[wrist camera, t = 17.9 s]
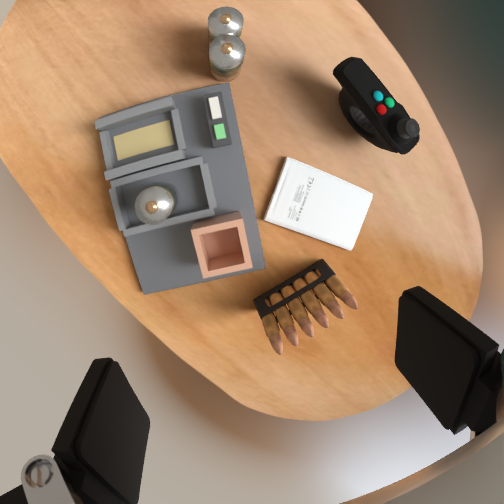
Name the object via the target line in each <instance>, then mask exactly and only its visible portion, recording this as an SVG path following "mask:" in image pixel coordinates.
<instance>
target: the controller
mask: <svg viewBox="0 0 504 504" xmlns="http://www.w3.org/2000/svg"><path fill="white" fill-rule="evenodd" d="M333 75H334V76H335V78H336V79H337V80H338V82H339V83H340V85H341V86H342V90H341V91H340V93H339V103H340V106H341V109H342V111H343V113H344V115H345V117H346V118H347V120H348V121H349V123H350V124H351V125H352V127H353V128H354V129H355V130H356V131H357V132H358V133H359V134H360V135H361V136H362V137H363V138H365V139H366V140H367V141H369V142H370V143H372V144H373V145H375V146H377V147H379V148H381V149H385V150H388V151H391V152H394V153H398V152H399V153H400V154H406V153H408V152H410V151H411V150H412V148H413V147H414V146H415V145H416V144H417V143H418V141H419V131H420V128H419V124H418V123H417V121H416V120H414V119H412V118H410V117H409V115H408V114H407V112H406V110H405V109H404V107H403V106H402V105H401V104H399V103H398V102H397V101H396V100H395V99H394V98H393V96H392V95H391V94H390V92H389V91H388V90H387V89H386V87H385V86H384V85H383V83H382V82H381V81H380V80H379V79H378V77H377V76H376V75H375V74H374V73H373V71H372V70H371V69H370V68H369V67H368V66H367V64H366V63H365V62H364V61H363V60H362V59H360V58H355V57H350V58H347V59H346V60H344V61H342V62H341V63H340V64H338V65H337V66H336V67H335V68H334V70H333Z"/></svg>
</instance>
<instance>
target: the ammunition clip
mask: <svg viewBox="0 0 504 504" xmlns="http://www.w3.org/2000/svg"><path fill="white" fill-rule="evenodd" d="M323 282H324V283H325V284H326V285H325V284H324V283H323ZM311 289H312V290H311ZM312 291H313V292H314V293H315V295H314V293H313V292H312ZM331 291H332V292H333V293H334V294H335V296H337V297H338V298H340V299H341V300H342V301H343V302H344V303H345V304H346V305H347V306H349V307H350V308H352V309H358V304H357V301H356V299H355V298H354V297H353V295H352V294H351V293H350V291H349V290H348V288H347V286H346V285H345V284H344V283H343V282H342V281H341V280H340V279H339V278H338V277H337V276H336V274H335V273H334V272H333V270H332V269H331V268H330V267H329V266H328V264H327V263H326V262H325V261H324V260H323V259H321V260H319V261H318V262H316V263H315V264H313V265H311V266H310V267H308V268H306V269H305V270H303V271H301V272H300V273H298V274H296V275H295V276H293V277H291V278H290V279H288V280H286V281H285V282H283V283H281V284H280V285H278V286H276V287H275V288H273V289H271V290H269V291H268V292H266V293H264V294H263V295H261V296H259V297H257V298H256V299H254V303H255V305H256V308H257V311H258V313H259V316H260V318H261V319H262V323H263V326H264V329H265V332H266V335H267V336H268V338H269V340H270V342H271V345H272V347H273V349H274V350H275V351H276V353H278V354H279V355H281V354H282V351H283V344H282V340H281V336H280V329H279V326H278V322H279V325H280V327H281V328H282V329H283V331H284V333H285V335H286V337H287V339H288V340H289V342H290V343H291V344H292V345H294V346H297V345H298V336H297V332H296V330H295V327H294V321H293V319H292V316H291V315H293V317H294V319H295V320H296V321H297V322H298V324H299V325H300V327H301V329H302V330H303V331H304V333H305V334H307V335H308V336H310V337H313V333H314V332H313V327H312V324H311V322H310V319H309V317H308V313H307V311H306V309H307V310H308V312H309V313H310V314H312V316H313V317H314V318H315V319H316V321H317V322H318V323H319V324H320V325H321V326H323V327H325V328H328V325H329V323H328V319H327V316H326V314H325V313H324V311H323V309H322V307H321V304H320V302H321V303H322V304H323V305H324V306H326V307H327V308H328V309H329V310H330V312H331V313H332V314H333V315H334V316H336V317H338V318H340V319H343V311H342V309H341V307H340V305H339V304H338V302H337V301H336V299H335V297H334V295H333V294H332V292H331ZM298 296H299V297H300V299H301V300H300V299H299V297H298ZM318 299H319V300H320V302H319V301H318ZM301 301H302V302H301ZM286 303H287V305H288V307H289V309H290V310H288V308H287V306H286ZM305 307H306V309H305ZM273 311H274V312H275V315H276V317H275V315H274V312H273Z"/></svg>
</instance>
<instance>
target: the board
mask: <svg viewBox="0 0 504 504" xmlns="http://www.w3.org/2000/svg"><path fill="white" fill-rule="evenodd" d="M94 122H95V128H96V130H100V131H101V132H99V133H100V139H101V144H102V150H103V155H104V160H105V165H106V169H107V171H105V172H104V175H105V180H111V181H110V184H111V189H109V194H110V198H111V202H112V206H113V210H114V213H115V217H116V221H117V225H118V228H119V231H123V234H124V237H126V241H127V244H128V247H129V251H130V254H131V257H132V260H133V264H134V267H135V270H136V273H137V276H138V279H139V282H140V285H141V288H142V291H143V294H144V295H145V294H150V293H155V292H160V291H164V290H169V289H174V288H179V287H184V286H188V285H193V284H198V283H202V282H207V281H212V280H216V279H221V278H225V277H230V276H234V275H239V274H243V273H248V272H252V271H257V270H261V269H266V266H265V260H264V255H263V250H262V245H261V240H260V234H259V229H258V224H257V219H256V214H255V209H254V204H253V199H252V193H251V188H250V183H249V178H248V173H247V168H246V163H245V158H244V153H243V148H242V143H241V138H240V133H239V129H238V124H237V119H236V114H235V109H234V104H233V99H232V94H231V90H230V85H229V83H224V84H219V85H214V86H209V87H204V88H199V89H195V90H190V91H186V92H182V93H178V94H174V95H170V96H166V97H162V98H159V99H155V100H152V101H148V102H145V103H142V104H138V105H135V106H132V107H129V108H126V109H123V110H120V111H117V112H114V113H111V114H108V115H106V116H103V117H100V118H99V120H96V121H94ZM160 183H170V184H172V185H174V186H175V187H176V188H177V190H178V192H179V195H180V200H179V204H178V206H177V207H176V208H175V210H174V211H173V212H172V213H171V214H170V216H169V217H168V218H167V219H166V220H165V221H164V222H162V223H160V224H158V225H148V224H145V223H144V222H142V221H141V220H140V219H139V218H138V216H137V215H136V212H135V201H136V198H137V196H138V195H139V194H140V193H141V192H142V191H143V190H145V189H147V188H149V187H152V186H154V185H157V184H160ZM238 211H239V212H240V214H241V216H242V218H243V222H244V227H245V232H246V237H247V242H248V247H249V252H250V256H251V261H252V266H253V268H249V269H245V270H240V271H236V272H231V273H227V274H222V275H218V276H213V277H208V278H204V279H203V276H202V272H201V268H200V265H199V261H198V257H197V253H196V249H195V245H194V241H193V237H192V233H191V228H192V226H193V223H194V221H197V220H202V219H206V218H210V217H215V216H219V215H224V214H228V213H233V212H238Z"/></svg>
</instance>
